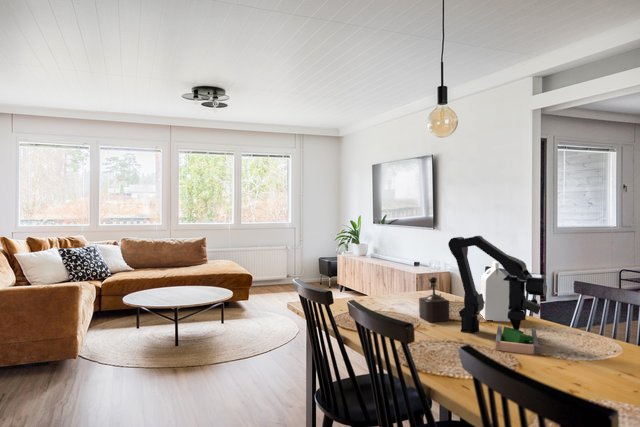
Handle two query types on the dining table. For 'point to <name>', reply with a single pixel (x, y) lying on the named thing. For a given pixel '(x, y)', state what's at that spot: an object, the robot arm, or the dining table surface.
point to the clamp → (515, 336)
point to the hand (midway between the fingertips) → (516, 332)
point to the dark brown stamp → (434, 306)
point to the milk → (495, 294)
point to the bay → (517, 344)
